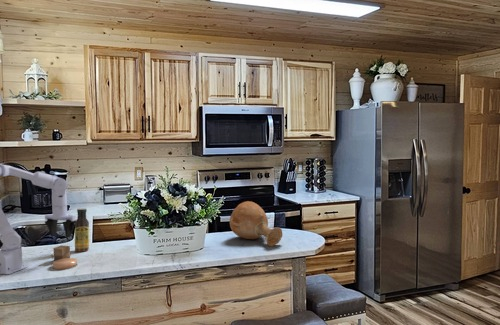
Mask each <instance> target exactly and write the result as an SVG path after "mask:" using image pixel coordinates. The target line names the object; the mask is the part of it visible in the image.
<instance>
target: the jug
mask: <svg viewBox="0 0 500 325" xmlns="http://www.w3.org/2000/svg"><path fill="white" fill-rule="evenodd" d="M268 220H269V219H268V216H267V214H266V213H265V210H264V209H263V208H262V207H261V206H260V205H259V204H257V203H255V202H253V201H249V200H247V201H243V202H241V203H239V204H238V205H237V206H236V207H235V208H234V209H233V210H232V213H231V214H230V218H229V227H230V229H231V231H232V232H233V233H234V234H235V235H236V236H237V237H239V238H242V239H245V240H257V239H259V238H261V237H262V236H263V237H264V240H265V241H266V244H267V245H268V246H270V247H273V246H276V245H277V244H279V243H280V242H281V240H282V237H283V229H282V228H281V227H278V226H277V227H273V228H270V227H269V226H268V225H269V221H268Z"/></svg>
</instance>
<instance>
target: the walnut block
mask: <svg viewBox="0 0 500 325" xmlns="http://www.w3.org/2000/svg"><path fill="white" fill-rule="evenodd" d="M52 249H53V250H52V251H53V262H54V261H56V260H60V259H65V258H71V248H70V245H62V244H61V245H59V246H56V247H53V248H52Z"/></svg>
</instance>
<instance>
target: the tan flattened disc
mask: <svg viewBox="0 0 500 325" xmlns="http://www.w3.org/2000/svg"><path fill="white" fill-rule="evenodd" d="M76 265H77V266H78V259H77V258H74V257H70V258H65V259H60V260H56V261H54V260H53V262H52V268H53V270H59V271H61V270H62V271H63V270H69V269H73V268H75V267H77V266H76Z"/></svg>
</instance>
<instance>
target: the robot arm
mask: <svg viewBox="0 0 500 325" xmlns="http://www.w3.org/2000/svg"><path fill="white" fill-rule="evenodd" d="M1 176H2V177H8V176H13V177H16V178H20V179H24V180H28V181H31V184H32V185H33V186H38V187H41V188H45V189H48V190H49V189H51V206H52V207H51V208H52V214H45V215H44V220H45V221H44V224H45V225H46V227H47V228H48V230H49V233H50V236H51V237H52V238H53V237H56V236H57V227H58V222H59V221H62V225H63V226H64V233H65V234H64V235H65V238H66V239H69V238H70V237H71V236H72V231H73V228H74V227H75V222H76V220H77V217H76V215H72V214H71V215H70V214H68V199H67V198H68V197H67V196H68V195H67V189H68V186H69V184H68V182H67V181H66V179H64V178H62V177H58V176H57V175H55V174H54V175H52V174H48V173H46V172H45V171H43V170H41V171H35V172H34V173H33V172H31V171H27V170H24V169H21V168H18V167H14V166H11V165H9V164H2V163H0V177H1ZM0 242H1V243H2V246H0V275H10V274H13V273H16V272H18V271H21V270H24V269H26V268H28V267H29V266H28V265H24V264H23V249H22V247H23V246H22V237H21V235H20V234H18V232H17V231H16V230H15V229H14V228H13V226H12V225H11V224H10V222H9V220H8V218H7V216H6V214H5V213H4V211H3V208H2V207H1V206H0Z"/></svg>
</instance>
